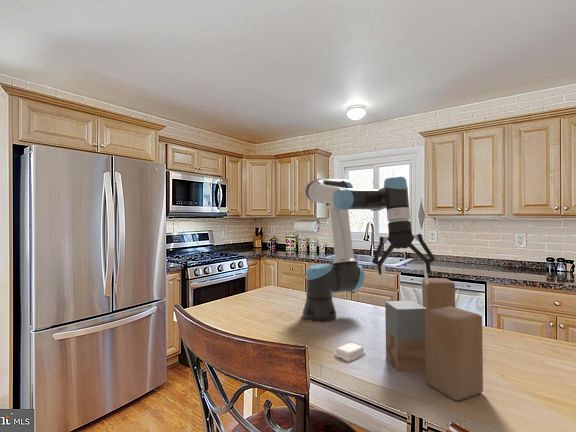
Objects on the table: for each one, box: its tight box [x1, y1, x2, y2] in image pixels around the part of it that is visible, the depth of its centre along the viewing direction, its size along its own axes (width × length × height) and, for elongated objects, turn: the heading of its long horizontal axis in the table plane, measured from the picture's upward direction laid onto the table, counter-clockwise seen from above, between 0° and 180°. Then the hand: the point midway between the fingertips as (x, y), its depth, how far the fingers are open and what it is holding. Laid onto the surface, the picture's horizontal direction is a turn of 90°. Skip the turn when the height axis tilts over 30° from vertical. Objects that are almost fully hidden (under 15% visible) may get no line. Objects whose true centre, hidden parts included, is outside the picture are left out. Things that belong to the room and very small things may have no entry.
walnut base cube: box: [385, 330, 426, 373], centre depth 99 cm, size 9×9×9 cm
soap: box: [334, 342, 366, 362], centre depth 106 cm, size 9×7×3 cm
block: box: [425, 306, 484, 402], centre depth 84 cm, size 10×10×20 cm
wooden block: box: [421, 277, 456, 310], centre depth 127 cm, size 10×10×20 cm
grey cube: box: [384, 300, 427, 341], centre depth 99 cm, size 9×9×9 cm
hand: (405, 284), depth 109 cm, fingers open, 13 cm apart
